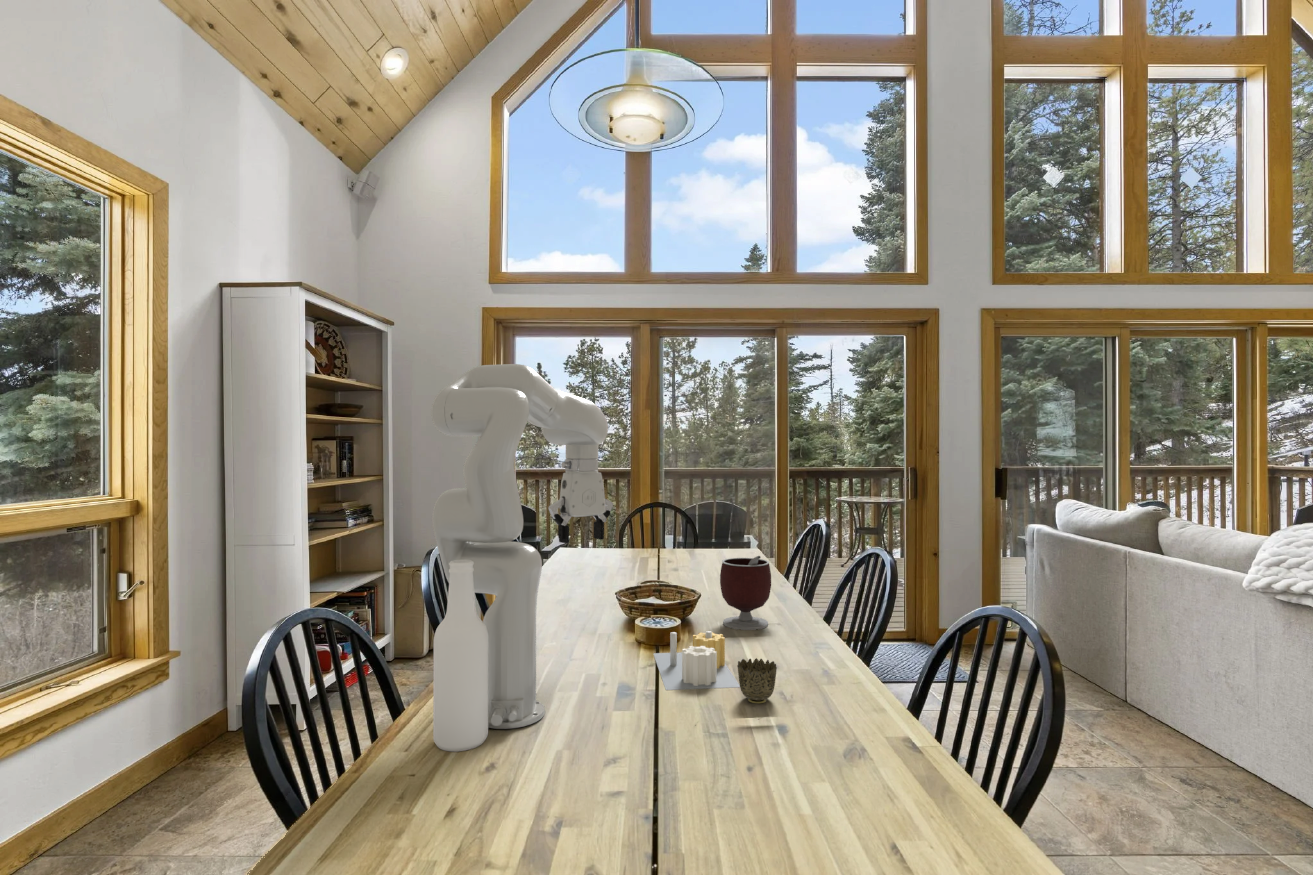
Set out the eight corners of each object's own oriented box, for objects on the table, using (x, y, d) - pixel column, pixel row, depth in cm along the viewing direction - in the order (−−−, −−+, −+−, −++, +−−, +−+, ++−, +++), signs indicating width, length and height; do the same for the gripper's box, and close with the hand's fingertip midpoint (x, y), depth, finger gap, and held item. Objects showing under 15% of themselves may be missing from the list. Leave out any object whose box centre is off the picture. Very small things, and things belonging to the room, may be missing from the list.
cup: (776, 715, 129) (776, 671, 129) (735, 711, 130) (735, 668, 130) (777, 700, 136) (777, 658, 136) (739, 697, 137) (739, 656, 137)
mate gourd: (712, 619, 197) (712, 548, 197) (757, 616, 201) (757, 546, 202) (734, 634, 182) (734, 557, 183) (783, 630, 187) (783, 554, 187)
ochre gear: (727, 668, 151) (727, 640, 151) (695, 669, 151) (695, 641, 151) (720, 658, 158) (720, 631, 158) (690, 659, 157) (690, 632, 157)
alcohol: (431, 734, 120) (432, 558, 120) (484, 727, 123) (485, 555, 123) (434, 756, 112) (435, 567, 112) (491, 747, 115) (491, 563, 115)
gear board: (740, 693, 140) (740, 651, 140) (665, 696, 138) (665, 654, 138) (717, 656, 164) (717, 621, 164) (653, 658, 162) (653, 622, 162)
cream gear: (719, 685, 141) (718, 655, 141) (685, 686, 140) (685, 656, 140) (712, 673, 148) (712, 645, 148) (680, 674, 147) (680, 646, 147)
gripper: (558, 467, 155) (558, 546, 154) (621, 466, 166) (621, 539, 166) (541, 467, 160) (540, 542, 160) (602, 465, 171) (602, 536, 171)
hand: (581, 540), depth 163 cm, fingers open, 9 cm apart
